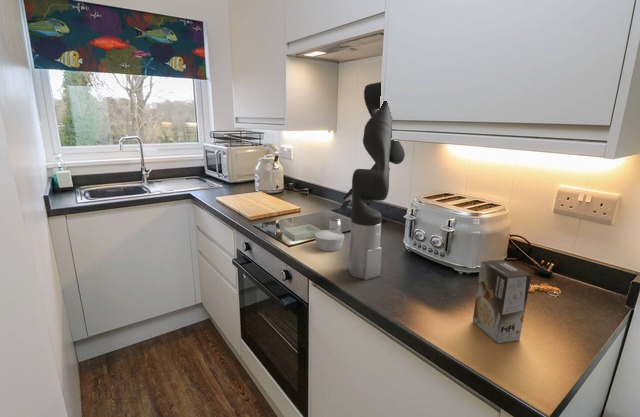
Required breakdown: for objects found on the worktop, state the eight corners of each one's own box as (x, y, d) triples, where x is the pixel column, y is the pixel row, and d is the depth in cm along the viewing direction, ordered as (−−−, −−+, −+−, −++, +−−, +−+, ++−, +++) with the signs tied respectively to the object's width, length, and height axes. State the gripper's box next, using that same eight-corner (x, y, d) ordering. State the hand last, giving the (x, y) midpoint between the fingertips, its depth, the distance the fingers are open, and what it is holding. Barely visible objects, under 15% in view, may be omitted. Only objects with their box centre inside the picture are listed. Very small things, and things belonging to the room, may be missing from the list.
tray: (321, 235, 143) (321, 230, 142) (294, 241, 136) (294, 235, 136) (309, 229, 151) (309, 224, 150) (283, 234, 144) (283, 228, 144)
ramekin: (348, 245, 134) (348, 232, 132) (337, 255, 124) (337, 241, 122) (321, 240, 138) (322, 228, 137) (309, 249, 128) (309, 236, 127)
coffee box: (521, 340, 78) (534, 275, 73) (497, 344, 76) (508, 278, 72) (493, 317, 86) (502, 258, 82) (470, 320, 85) (479, 260, 81)
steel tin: (343, 237, 142) (344, 218, 140) (333, 239, 140) (333, 220, 137) (336, 233, 146) (336, 215, 144) (326, 235, 144) (326, 217, 142)
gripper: (355, 174, 150) (333, 202, 147) (377, 179, 139) (353, 210, 136) (364, 185, 155) (342, 213, 152) (386, 191, 143) (363, 221, 140)
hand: (347, 211), depth 144 cm, fingers open, 8 cm apart
